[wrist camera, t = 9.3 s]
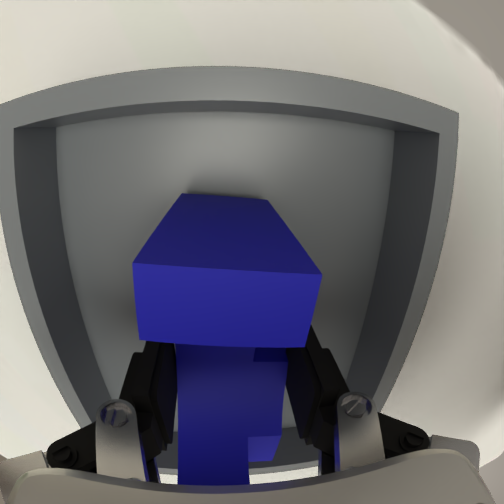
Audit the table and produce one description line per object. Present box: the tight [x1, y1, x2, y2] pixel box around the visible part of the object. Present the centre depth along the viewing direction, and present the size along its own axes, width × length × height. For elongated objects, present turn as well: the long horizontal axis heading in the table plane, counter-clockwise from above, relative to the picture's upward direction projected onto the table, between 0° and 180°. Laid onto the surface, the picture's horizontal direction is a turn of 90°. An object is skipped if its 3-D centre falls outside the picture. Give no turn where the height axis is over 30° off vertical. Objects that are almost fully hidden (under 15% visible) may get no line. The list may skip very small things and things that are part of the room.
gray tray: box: [0, 66, 459, 475], centre depth 12 cm, size 16×20×4 cm
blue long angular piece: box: [132, 193, 322, 486], centre depth 9 cm, size 12×4×6 cm, turn 174°
